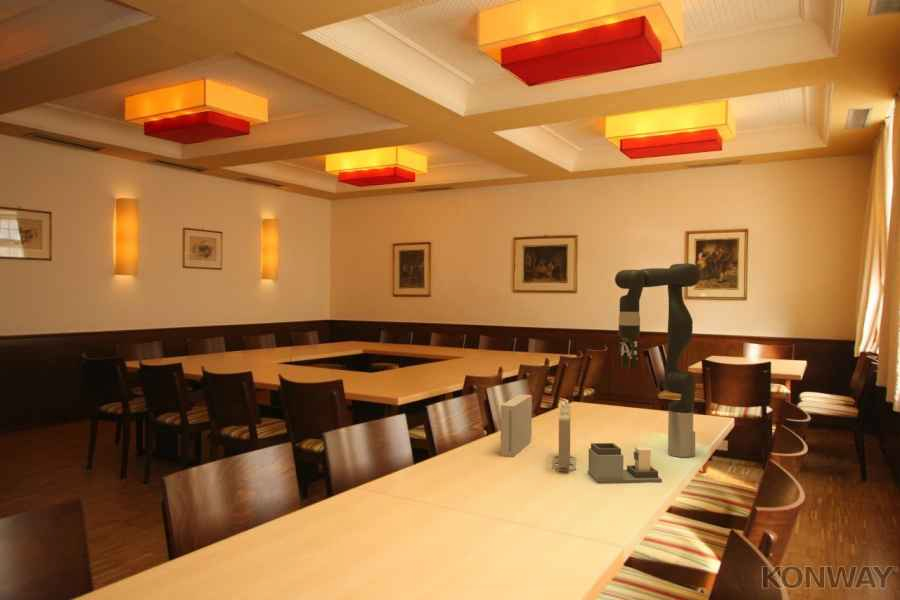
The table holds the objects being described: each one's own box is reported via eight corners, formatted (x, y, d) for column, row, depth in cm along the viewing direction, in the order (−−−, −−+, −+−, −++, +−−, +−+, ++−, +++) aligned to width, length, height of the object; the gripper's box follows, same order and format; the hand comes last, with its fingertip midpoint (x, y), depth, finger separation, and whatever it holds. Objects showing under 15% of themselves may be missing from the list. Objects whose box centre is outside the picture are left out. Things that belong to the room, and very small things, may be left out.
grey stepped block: (648, 471, 222) (648, 441, 222) (662, 482, 210) (662, 449, 210) (587, 472, 220) (587, 441, 220) (597, 483, 208) (598, 450, 208)
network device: (575, 474, 219) (576, 417, 218) (550, 472, 220) (551, 416, 220) (576, 455, 244) (576, 404, 243) (553, 454, 245) (553, 403, 245)
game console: (499, 456, 243) (499, 405, 243) (518, 440, 268) (518, 394, 268) (513, 457, 241) (513, 406, 240) (531, 441, 266) (531, 395, 266)
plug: (645, 472, 218) (646, 446, 217) (650, 476, 214) (650, 449, 213) (632, 472, 217) (632, 447, 217) (636, 476, 213) (636, 450, 213)
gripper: (646, 325, 222) (646, 370, 222) (632, 323, 236) (632, 365, 236) (625, 325, 221) (625, 370, 222) (612, 323, 236) (612, 365, 236)
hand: (628, 368), depth 229 cm, fingers open, 8 cm apart
